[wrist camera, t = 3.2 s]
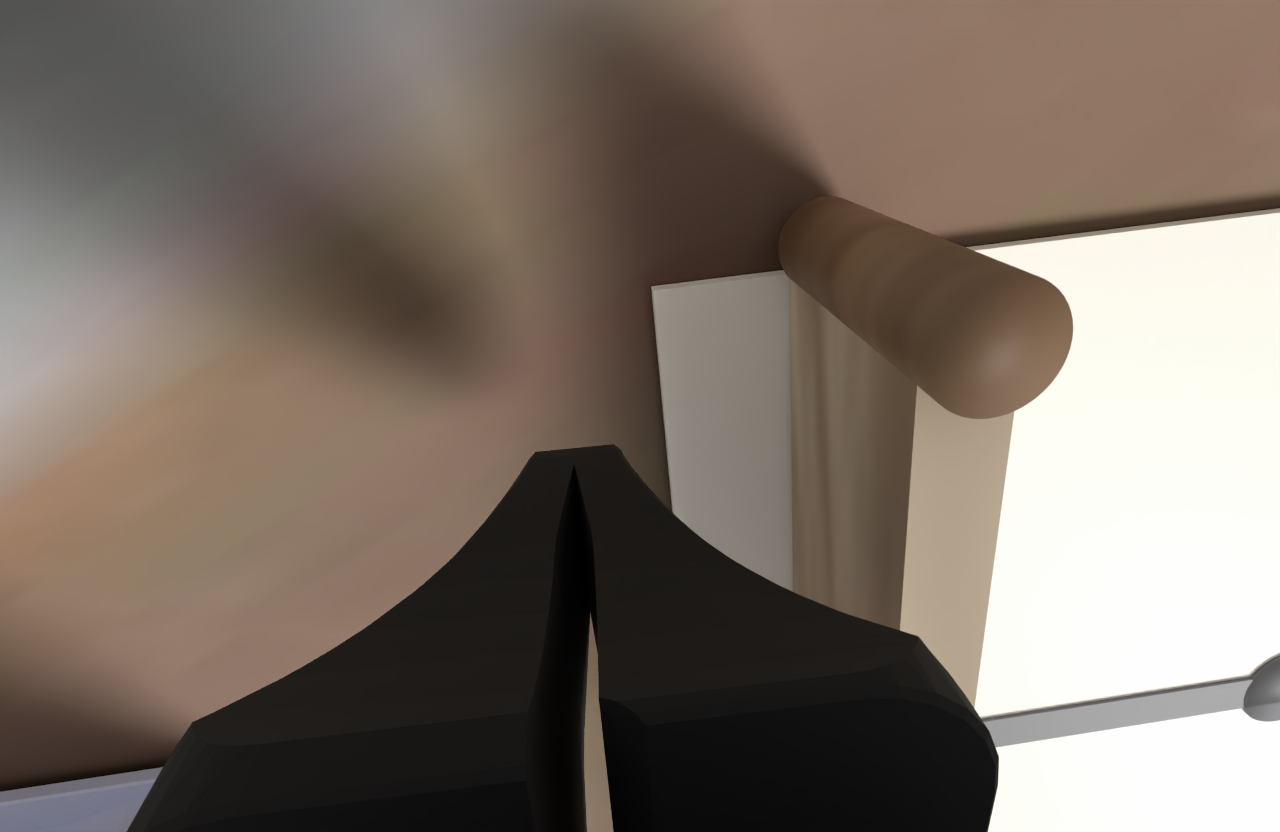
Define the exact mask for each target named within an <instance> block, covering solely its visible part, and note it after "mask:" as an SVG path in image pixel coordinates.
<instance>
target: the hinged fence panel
mask: <svg viewBox="0 0 1280 832" xmlns="http://www.w3.org/2000/svg"><path fill="white" fill-rule="evenodd" d="M778 256H779V261H780V264H781V266H782V268H783V270H784V272H785V273H786V275H787V276H788V277H789V278H790V358H791V449H792V540H793V592H794V593H797V594H799V595H801V596H803V597H806V598H808V599H811V600H813V601H816V602H818V603H820V604H823V605H825V606H828V607H830V608H833V609H835V610H838V611H840V612H843V613H846V614H849V615H852V616H855V617H858V618H861V619H865V620H868V621H871V622H874V623H877V624H881V625H884V626H887V627H890V628H893V629H897V630H900V631H903V632H906V633H909V634H913V635H916V636H919V638H920V639H921V640H922V641H923V642H924V644H925V645H926V646H927V648H928V649H929V650H930V651H931V653H932V654H933V655H934V656H935V657H936V658H937V660H938V661H939V662H940V663H941V664H942V665H943V666H944V668H945V669H946V670H947V671H948V672H949V674H950V675H951V676H952V678H953V679H954V680H955V682H956V683H957V684H958V686H959V687H960V688H961V690H962V691H963V692H964V694H965V695H966V697H967V698H968V700H969V701H970V703H971V704H972V706H973V707H975V700H976V693H977V685H978V678H979V670H980V663H981V656H982V648H983V641H984V633H985V626H986V618H987V611H988V604H989V596H990V589H991V581H992V574H993V567H994V559H995V552H996V544H997V537H998V529H999V522H1000V515H1001V507H1002V500H1003V492H1004V485H1005V478H1006V470H1007V463H1008V455H1009V448H1010V440H1011V433H1012V426H1013V418H1014V411H1016V410H1018V409H1020V408H1022V407H1023V406H1025V405H1027V404H1028V403H1030V402H1031V401H1033V400H1034V399H1035V398H1037V397H1038V396H1039V395H1040V394H1041V393H1042V392H1044V390H1045V389H1046V388H1047V387H1048V386H1049V385H1050V384H1051V383H1052V382H1053V380H1054V379H1055V378H1056V377H1057V375H1058V373H1059V372H1060V370H1061V369H1062V367H1063V365H1064V363H1065V361H1066V359H1067V356H1068V353H1069V351H1070V347H1071V343H1072V337H1073V319H1072V313H1071V310H1070V307H1069V304H1068V302H1067V300H1066V299H1065V297H1064V295H1063V294H1062V293H1061V291H1060V290H1059V289H1058V288H1057V287H1056V286H1054V285H1053V284H1052V283H1051V282H1049V281H1047V280H1046V279H1044V278H1041V277H1039V276H1036V275H1034V274H1031V273H1029V272H1026V271H1024V270H1021V269H1019V268H1016V267H1014V266H1011V265H1009V264H1006V263H1004V262H1001V261H999V260H996V259H993V258H991V257H988V256H986V255H983V254H981V253H978V252H976V251H973V250H971V249H968V248H966V247H963V246H961V245H958V244H956V243H953V242H951V241H948V240H946V239H943V238H941V237H938V236H936V235H933V234H931V233H928V232H926V231H923V230H920V229H918V228H915V227H913V226H910V225H908V224H905V223H903V222H900V221H898V220H895V219H893V218H890V217H888V216H885V215H883V214H880V213H878V212H875V211H873V210H870V209H868V208H865V207H863V206H860V205H858V204H855V203H853V202H850V201H848V200H845V199H842V198H839V197H834V196H824V197H818V198H815V199H812V200H810V201H808V202H806V203H804V204H802V205H801V206H800V207H798V208H797V209H796V210H795V211H794V212H793V213H792V214H791V215H790V216H789V218H788V219H787V221H786V222H785V224H784V226H783V228H782V230H781V233H780V237H779V242H778Z"/></svg>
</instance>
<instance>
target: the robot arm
mask: <svg viewBox="0 0 1280 832" xmlns="http://www.w3.org/2000/svg"><path fill="white" fill-rule="evenodd" d="M590 612H591V618H592V624H593V629H594V635H595V640H596V646H597V652H598V671H599V703H600V712H601V721H602V730H603V739H604V748H605V757H606V766H607V775H608V784H609V793H610V802H611V811H612V820H613V829H614V832H988V828H989V824H990V819H991V815H992V810H993V806H994V801H995V797H996V792H997V788H998V774H999V755H998V753H997V750H996V748H995V745H994V742H993V740H992V737H991V734H990V732H989V730H988V728H987V727H986V725H985V724H984V722H983V721H982V719H981V718H980V716H979V715H978V713H977V712H976V710H975V709H974V707H973V706H972V704H971V703H970V701H969V700H968V698H967V697H966V695H965V694H964V692H963V691H962V690H961V688H960V687H959V686H958V684H957V683H956V682H955V680H954V679H953V678H952V676H951V675H950V674H949V672H948V671H947V670H946V669H945V668H944V666H943V665H942V664H941V663H940V662H939V661H938V660H937V658H936V657H935V656H934V655H933V654H932V653H931V651H930V650H929V649H928V648H927V646H926V645H925V644H924V642H923V641H922V640H921V639H920V638H919V636H916V635H913V634H909V633H906V632H903V631H900V630H897V629H893V628H890V627H887V626H884V625H881V624H877V623H874V622H871V621H868V620H865V619H861V618H858V617H855V616H852V615H849V614H846V613H843V612H840V611H838V610H835V609H833V608H830V607H828V606H825V605H823V604H820V603H818V602H816V601H813V600H811V599H808V598H806V597H803V596H801V595H799V594H797V593H794V592H792V591H790V590H788V589H786V588H784V587H782V586H780V585H777V584H775V583H774V582H772V581H770V580H768V579H766V578H764V577H763V576H761V575H759V574H757V573H755V572H753V571H751V570H750V569H748V568H746V567H744V566H742V565H741V564H739V563H738V562H736V561H734V560H733V559H731V558H729V557H728V556H726V555H725V554H723V553H722V552H721V551H719V550H718V549H716V548H715V547H713V546H712V545H710V544H709V543H708V542H706V541H705V540H704V539H702V538H701V537H700V536H699V535H697V534H696V533H695V532H694V531H692V530H691V529H690V528H689V527H688V526H687V525H686V524H685V523H683V522H682V521H681V520H680V519H679V518H678V517H677V516H676V515H675V514H674V513H673V512H672V511H671V510H669V509H668V508H667V507H666V506H665V505H664V504H663V502H662V501H661V500H660V499H659V498H658V497H657V496H656V495H655V494H654V493H653V492H652V491H651V490H650V489H649V488H648V486H647V485H646V484H645V483H644V482H643V481H642V479H641V478H640V477H639V476H638V474H637V473H636V472H635V471H634V469H633V468H632V467H631V465H630V464H629V463H628V461H627V460H626V458H625V456H624V455H623V453H622V451H621V450H620V449H619V448H618V447H616V446H615V445H614V444H613V445H603V446H593V447H582V448H572V449H562V450H551V451H541V452H535V453H534V455H533V456H532V457H531V458H530V459H529V460H528V462H527V464H526V465H525V467H524V468H523V470H522V471H521V473H520V475H519V476H518V478H517V479H516V481H515V482H514V483H513V485H512V486H511V488H510V489H509V491H508V492H507V493H506V495H505V496H504V497H503V499H502V500H501V501H500V503H499V504H498V505H497V507H496V508H495V509H494V511H493V512H492V513H491V514H490V516H489V517H488V518H487V520H486V521H485V522H484V523H483V524H482V526H481V527H480V528H479V529H478V530H477V531H476V532H475V534H474V535H473V536H472V537H471V538H470V539H469V540H468V541H467V543H466V544H465V545H464V546H463V547H462V548H461V549H460V551H459V552H458V553H457V554H456V555H455V556H454V557H453V558H452V559H451V560H450V561H449V562H448V563H447V564H446V565H444V566H443V567H442V568H441V569H440V570H439V571H438V572H437V573H435V574H434V575H433V576H432V577H431V578H430V579H429V580H428V581H426V582H425V583H424V584H423V585H422V586H421V587H419V588H418V589H417V590H416V591H415V592H413V593H412V594H411V595H409V596H408V597H407V598H405V599H404V600H403V601H401V602H400V603H399V604H397V605H396V606H395V607H393V608H392V609H390V610H389V611H388V612H386V613H385V614H384V615H382V616H381V617H380V618H378V619H377V620H376V621H374V622H373V623H372V624H370V625H369V626H368V627H366V628H365V629H363V630H362V631H360V632H359V633H357V634H356V635H354V636H352V637H351V638H349V639H348V640H346V641H345V642H343V643H341V644H340V645H338V646H337V647H335V648H334V649H332V650H330V651H329V652H327V653H325V654H324V655H322V656H320V657H318V658H317V659H315V660H313V661H312V662H310V663H308V664H307V665H305V666H303V667H301V668H300V669H298V670H296V671H294V672H292V673H291V674H289V675H287V676H285V677H283V678H282V679H280V680H278V681H276V682H274V683H272V684H270V685H268V686H266V687H264V688H262V689H260V690H258V691H256V692H254V693H252V694H250V695H248V696H246V697H244V698H242V699H240V700H238V701H236V702H234V703H232V704H230V705H228V706H226V707H224V708H222V709H220V710H218V711H216V712H214V713H212V714H209V715H207V716H205V717H203V718H201V719H199V720H196V721H194V722H192V724H191V725H190V727H189V728H188V730H187V731H186V733H185V734H184V736H183V737H182V739H181V740H180V742H179V743H178V745H177V747H176V748H175V750H174V751H173V753H172V754H171V756H170V757H169V759H168V760H167V762H166V763H165V765H164V766H163V767H160V768H154V769H147V770H141V771H134V772H127V773H121V774H114V775H108V776H101V777H94V778H88V779H81V780H75V781H68V782H62V783H55V784H48V785H42V786H35V787H29V788H22V789H15V790H9V791H2V792H0V832H587V825H586V803H585V782H584V726H585V706H586V687H587V667H588V648H589V627H590Z"/></svg>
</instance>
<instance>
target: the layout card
mask: <svg viewBox="0 0 1280 832" xmlns="http://www.w3.org/2000/svg"><path fill="white" fill-rule="evenodd" d="M966 248H968V249H971V250H973V251H976V252H978V253H981V254H983V255H986V256H988V257H991V258H993V259H996V260H999V261H1001V262H1004V263H1006V264H1009V265H1011V266H1014V267H1016V268H1019V269H1021V270H1024V271H1026V272H1029V273H1031V274H1034V275H1036V276H1039V277H1041V278H1044V279H1046V280H1047V281H1049V282H1051V283H1052V284H1053V285H1054V286H1056V287H1057V288H1058V289H1059V290H1060V291H1061V293H1062V294H1063V295H1064V297H1065V299H1066V300H1067V302H1068V304H1069V307H1070V310H1071V313H1072V319H1073V337H1072V343H1071V347H1070V351H1069V353H1068V356H1067V359H1066V361H1065V363H1064V365H1063V367H1062V369H1061V370H1060V372H1059V373H1058V375H1057V377H1056V378H1055V379H1054V380H1053V382H1052V383H1051V384H1050V385H1049V386H1048V387H1047V388H1046V389H1045V390H1044V392H1042V393H1041V394H1040V395H1039V396H1038V397H1037V398H1035V399H1034V400H1033V401H1031V402H1030V403H1028V404H1027V405H1025V406H1023V407H1022V408H1020V409H1018V410H1016V411H1014V418H1013V426H1012V433H1011V440H1010V448H1009V455H1008V463H1007V470H1006V478H1005V485H1004V492H1003V500H1002V507H1001V515H1000V522H999V529H998V537H997V544H996V552H995V559H994V567H993V574H992V581H991V589H990V596H989V604H988V611H987V618H986V626H985V633H984V641H983V648H982V656H981V663H980V670H979V678H978V685H977V693H976V700H975V707H974V709H975V710H976V712H977V713H978V715H979V716H980V718H981V719H982V721H983V722H984V724H985V725H986V727H987V728H988V730H989V732H990V734H991V737H992V740H993V742H994V745H995V748H996V750H997V753H998V755H999V774H998V788H997V792H996V797H995V801H994V806H993V810H992V815H991V819H990V824H989V828H988V832H1280V208H1278V209H1270V210H1262V211H1254V212H1246V213H1238V214H1230V215H1222V216H1213V217H1205V218H1197V219H1189V220H1181V221H1173V222H1165V223H1157V224H1149V225H1141V226H1133V227H1125V228H1117V229H1109V230H1101V231H1093V232H1085V233H1077V234H1069V235H1061V236H1052V237H1044V238H1036V239H1028V240H1020V241H1012V242H1004V243H996V244H988V245H980V246H972V247H966ZM651 290H652V301H653V311H654V322H655V333H656V343H657V354H658V364H659V375H660V385H661V396H662V406H663V417H664V428H665V438H666V449H667V459H668V470H669V480H670V491H671V502H672V512H673V513H674V514H675V515H676V516H677V517H678V518H679V519H680V520H681V521H682V522H683V523H685V524H686V525H687V526H688V527H689V528H690V529H691V530H692V531H694V532H695V533H696V534H697V535H699V536H700V537H701V538H702V539H704V540H705V541H706V542H708V543H709V544H710V545H712V546H713V547H715V548H716V549H718V550H719V551H721V552H722V553H723V554H725V555H726V556H728V557H729V558H731V559H733V560H734V561H736V562H738V563H739V564H741V565H742V566H744V567H746V568H748V569H750V570H751V571H753V572H755V573H757V574H759V575H761V576H763V577H764V578H766V579H768V580H770V581H772V582H774V583H775V584H777V585H780V586H782V587H784V588H786V589H788V590H790V591H792V592H793V540H792V449H791V358H790V278H789V277H788V276H787V275H786V273H785V272H784V270H779V271H771V272H763V273H755V274H747V275H739V276H730V277H722V278H714V279H706V280H698V281H690V282H682V283H674V284H666V285H658V286H651Z"/></svg>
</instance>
